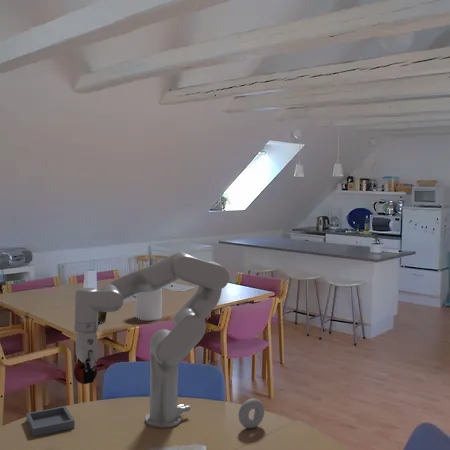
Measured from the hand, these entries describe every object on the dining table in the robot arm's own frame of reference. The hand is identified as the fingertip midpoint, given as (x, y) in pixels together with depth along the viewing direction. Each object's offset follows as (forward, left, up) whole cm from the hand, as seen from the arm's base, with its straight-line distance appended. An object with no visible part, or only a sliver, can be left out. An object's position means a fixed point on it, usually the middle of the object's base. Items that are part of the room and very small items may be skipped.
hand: (84, 378), depth 169 cm
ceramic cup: (-45, -133, -18) cm, 141 cm away
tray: (+9, -9, -17) cm, 22 cm away
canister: (-76, -132, -18) cm, 153 cm away
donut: (-50, +25, -18) cm, 58 cm away
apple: (0, 0, -2) cm, 2 cm away
